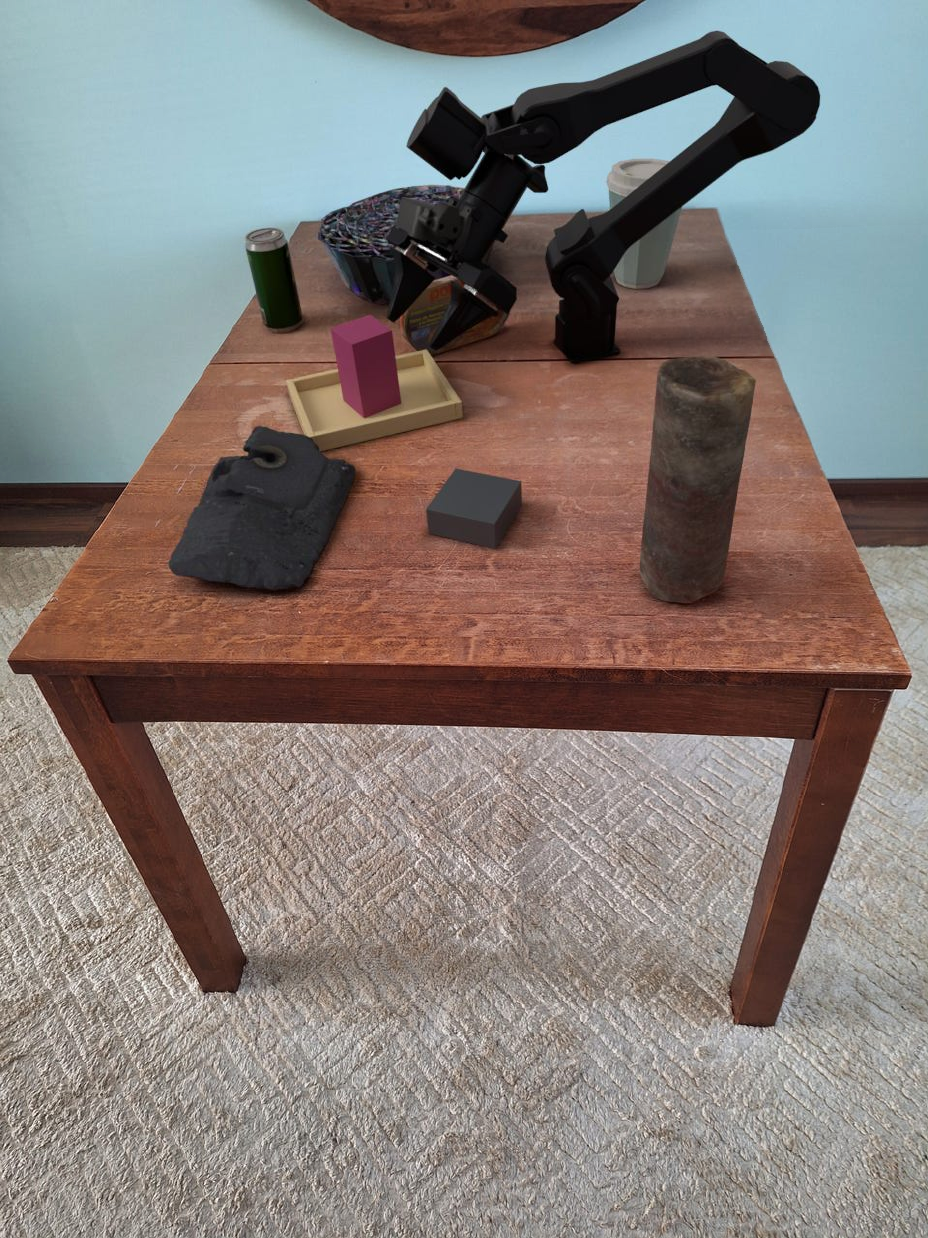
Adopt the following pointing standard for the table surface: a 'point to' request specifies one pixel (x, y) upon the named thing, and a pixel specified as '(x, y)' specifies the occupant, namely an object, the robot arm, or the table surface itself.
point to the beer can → (274, 279)
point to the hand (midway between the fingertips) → (410, 334)
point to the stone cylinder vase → (693, 475)
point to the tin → (430, 311)
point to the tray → (341, 425)
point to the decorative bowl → (374, 239)
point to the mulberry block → (366, 365)
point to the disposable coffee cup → (652, 250)
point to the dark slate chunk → (264, 513)
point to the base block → (474, 508)
